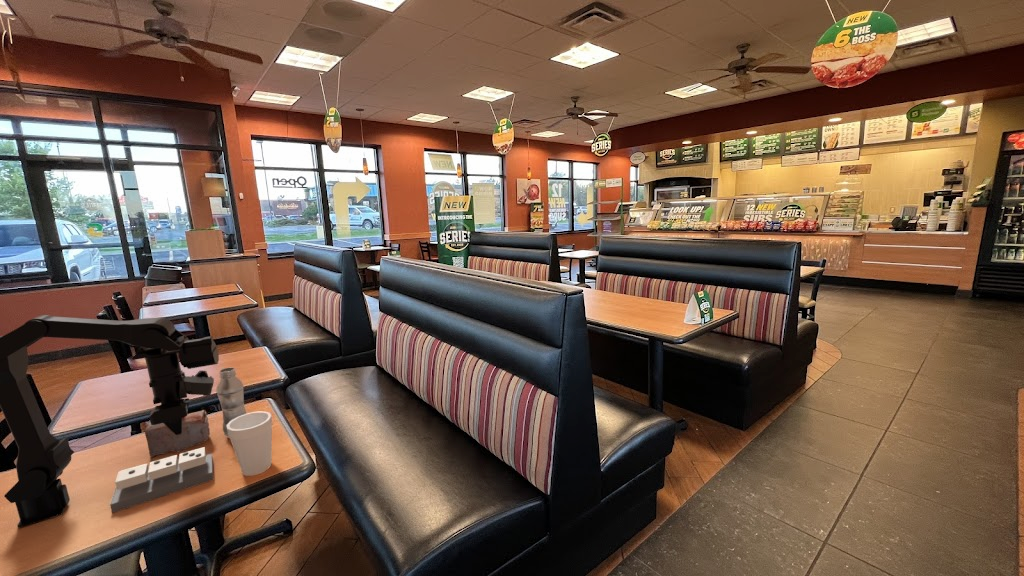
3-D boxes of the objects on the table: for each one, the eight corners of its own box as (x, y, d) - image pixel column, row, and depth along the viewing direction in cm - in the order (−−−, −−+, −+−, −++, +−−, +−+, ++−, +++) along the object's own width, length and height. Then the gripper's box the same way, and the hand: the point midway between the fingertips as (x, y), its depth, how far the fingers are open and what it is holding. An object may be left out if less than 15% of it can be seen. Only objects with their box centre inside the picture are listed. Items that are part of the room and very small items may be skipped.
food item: (211, 432, 123) (206, 401, 121) (211, 444, 116) (205, 411, 114) (151, 447, 115) (144, 415, 113) (147, 461, 108) (140, 427, 107)
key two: (149, 480, 95) (147, 471, 95) (151, 469, 99) (150, 461, 99) (177, 472, 98) (175, 463, 97) (178, 462, 102) (176, 453, 101)
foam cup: (286, 462, 107) (279, 415, 104) (251, 483, 98) (243, 433, 96) (262, 453, 111) (255, 408, 108) (226, 473, 102) (217, 425, 100)
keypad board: (112, 512, 90) (110, 504, 90) (119, 488, 98) (118, 480, 98) (213, 479, 100) (211, 472, 100) (213, 460, 108) (211, 453, 108)
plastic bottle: (238, 441, 117) (227, 375, 113) (218, 439, 118) (206, 373, 114) (256, 429, 123) (246, 366, 119) (237, 428, 124) (226, 364, 120)
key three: (179, 471, 98) (178, 462, 98) (181, 461, 102) (179, 453, 102) (205, 463, 101) (204, 455, 101) (206, 453, 105) (204, 446, 105)
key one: (116, 490, 92) (114, 481, 91) (120, 478, 96) (118, 470, 95) (146, 481, 95) (144, 472, 94) (149, 470, 99) (147, 462, 98)
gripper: (207, 375, 93) (220, 438, 96) (208, 353, 108) (219, 408, 111) (142, 390, 87) (158, 457, 90) (152, 364, 102) (165, 422, 105)
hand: (178, 433), depth 99 cm, fingers closed
